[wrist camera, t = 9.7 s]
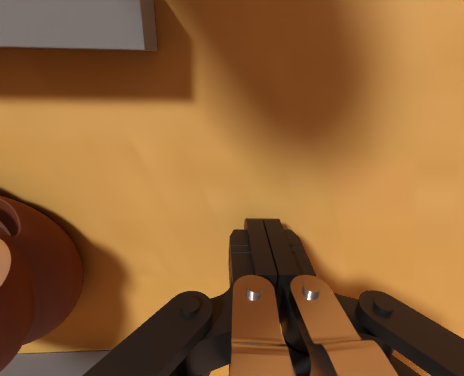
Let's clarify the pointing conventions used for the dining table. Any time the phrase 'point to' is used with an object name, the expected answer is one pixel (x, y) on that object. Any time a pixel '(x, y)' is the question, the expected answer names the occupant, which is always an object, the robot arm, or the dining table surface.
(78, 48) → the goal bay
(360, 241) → the dining table surface
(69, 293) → the poop emoji
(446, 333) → the robot arm
